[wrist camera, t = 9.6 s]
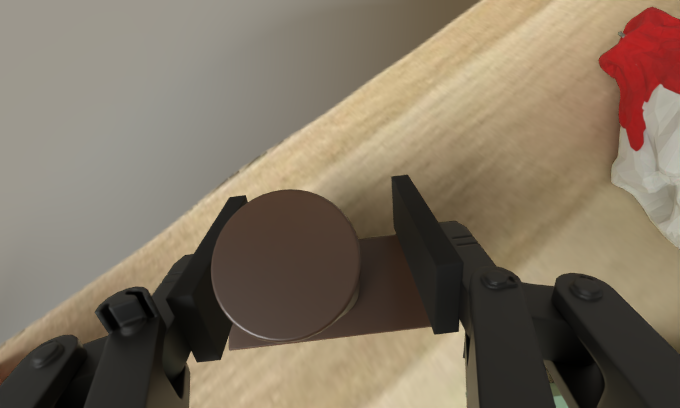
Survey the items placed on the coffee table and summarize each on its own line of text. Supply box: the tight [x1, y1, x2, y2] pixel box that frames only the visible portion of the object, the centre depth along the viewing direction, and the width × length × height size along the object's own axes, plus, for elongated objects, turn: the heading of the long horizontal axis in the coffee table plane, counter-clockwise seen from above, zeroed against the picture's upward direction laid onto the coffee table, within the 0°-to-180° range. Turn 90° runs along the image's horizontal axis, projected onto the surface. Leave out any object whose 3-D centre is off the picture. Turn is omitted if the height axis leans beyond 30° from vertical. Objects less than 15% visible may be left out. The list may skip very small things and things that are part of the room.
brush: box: [211, 189, 431, 351], centre depth 12 cm, size 4×10×14 cm, turn 96°
